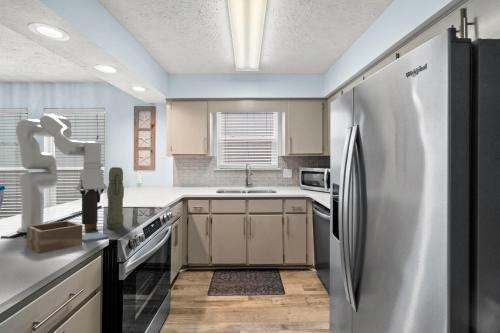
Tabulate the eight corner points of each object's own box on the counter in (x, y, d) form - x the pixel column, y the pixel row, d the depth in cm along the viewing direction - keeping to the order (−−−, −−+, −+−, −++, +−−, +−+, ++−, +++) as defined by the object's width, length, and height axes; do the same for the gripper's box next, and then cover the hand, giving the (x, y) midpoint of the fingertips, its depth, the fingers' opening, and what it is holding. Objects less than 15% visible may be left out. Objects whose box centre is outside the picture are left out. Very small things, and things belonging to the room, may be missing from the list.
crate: (26, 246, 124) (27, 226, 123) (67, 238, 137) (67, 220, 137) (39, 253, 115) (40, 231, 115) (82, 244, 128) (82, 225, 128)
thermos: (119, 224, 171) (120, 167, 170) (126, 227, 162) (127, 167, 162) (104, 225, 165) (105, 167, 165) (109, 229, 156) (110, 167, 156)
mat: (74, 238, 138) (74, 236, 138) (95, 234, 147) (95, 232, 147) (85, 242, 131) (85, 240, 131) (107, 238, 140) (107, 236, 140)
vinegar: (83, 222, 139) (82, 183, 140) (98, 221, 142) (98, 182, 143) (80, 225, 133) (80, 183, 134) (96, 223, 136) (96, 182, 136)
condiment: (87, 228, 158) (87, 207, 158) (102, 228, 159) (103, 207, 159) (80, 231, 151) (81, 209, 151) (97, 231, 152) (97, 209, 152)
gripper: (105, 166, 148) (104, 200, 148) (70, 166, 134) (69, 204, 134) (112, 166, 143) (112, 202, 144) (77, 166, 129) (76, 205, 130)
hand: (91, 202), depth 139 cm, fingers closed on vinegar, 4 cm apart
